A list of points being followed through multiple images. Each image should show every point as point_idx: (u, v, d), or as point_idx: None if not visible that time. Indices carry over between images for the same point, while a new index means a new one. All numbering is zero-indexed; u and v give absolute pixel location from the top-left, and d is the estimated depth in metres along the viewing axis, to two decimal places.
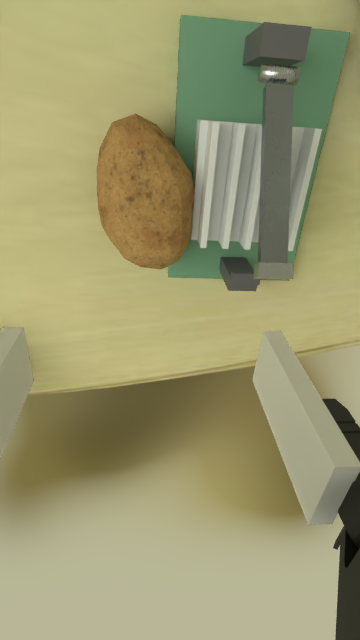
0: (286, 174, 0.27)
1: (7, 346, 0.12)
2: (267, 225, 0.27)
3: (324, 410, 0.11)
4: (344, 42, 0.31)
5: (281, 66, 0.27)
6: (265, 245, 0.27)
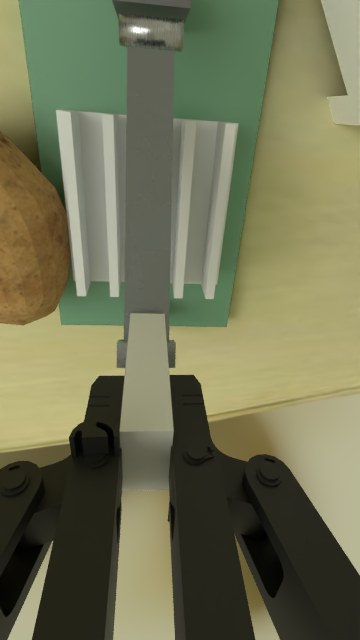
0: (164, 197, 0.17)
1: (143, 328, 0.14)
2: (133, 281, 0.17)
3: (165, 383, 0.11)
4: None
5: (151, 18, 0.16)
6: None
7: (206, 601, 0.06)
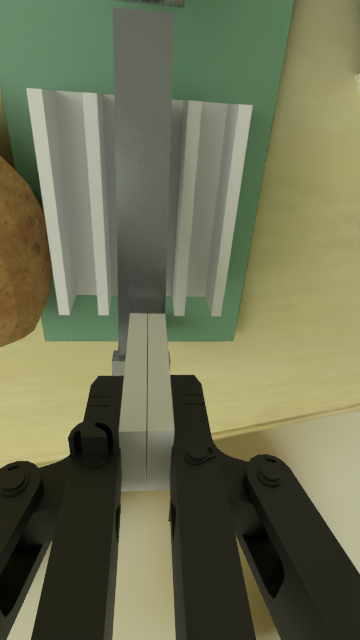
0: (160, 209, 0.15)
1: (142, 328, 0.14)
2: (127, 299, 0.16)
3: (166, 383, 0.11)
4: None
5: None
6: (125, 331, 0.16)
7: (207, 601, 0.06)
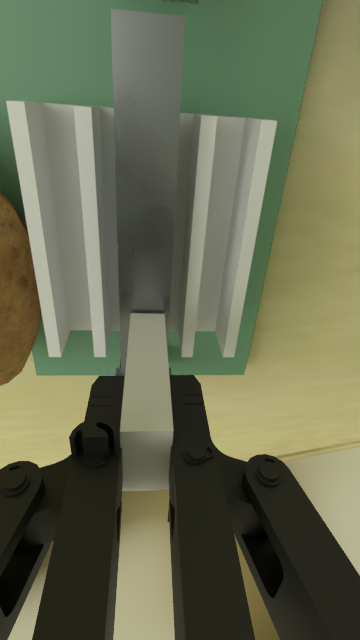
0: (164, 239, 0.14)
1: (143, 328, 0.14)
2: None
3: (165, 383, 0.11)
4: None
5: None
6: None
7: (206, 601, 0.06)
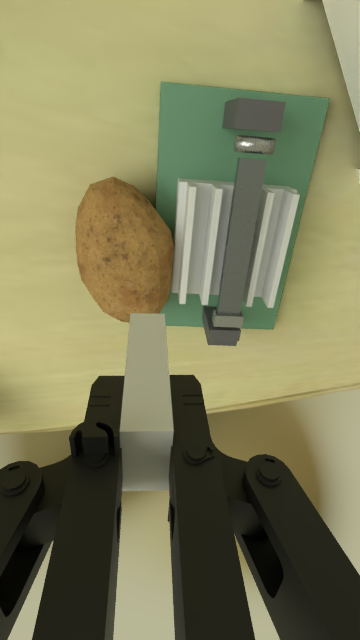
0: (248, 244, 0.30)
1: (143, 328, 0.14)
2: (226, 286, 0.32)
3: (165, 383, 0.11)
4: (324, 107, 0.31)
5: (256, 141, 0.27)
6: (222, 301, 0.33)
7: (206, 601, 0.06)
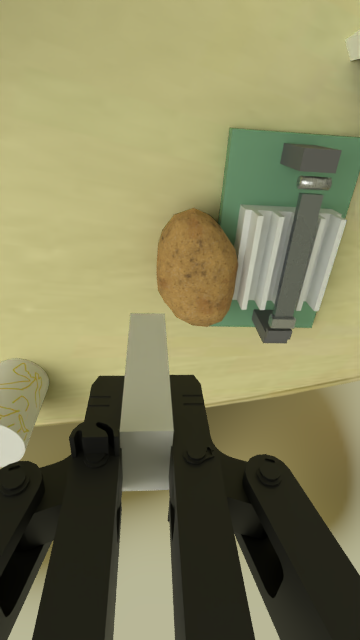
0: (303, 261, 0.37)
1: (143, 328, 0.14)
2: (283, 294, 0.39)
3: (165, 383, 0.11)
4: None
5: (316, 181, 0.33)
6: (279, 307, 0.40)
7: (206, 601, 0.06)
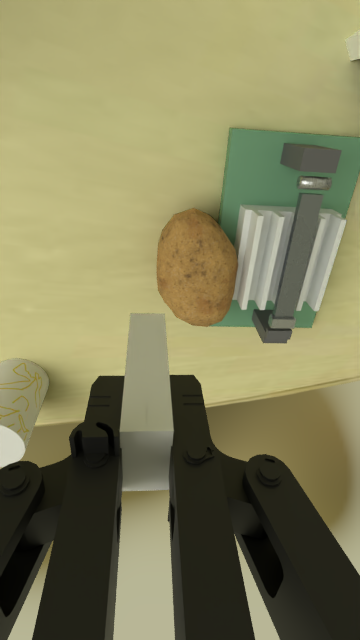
0: (303, 261, 0.37)
1: (143, 328, 0.14)
2: (283, 294, 0.39)
3: (165, 383, 0.11)
4: None
5: (316, 181, 0.33)
6: (279, 307, 0.40)
7: (206, 601, 0.06)
